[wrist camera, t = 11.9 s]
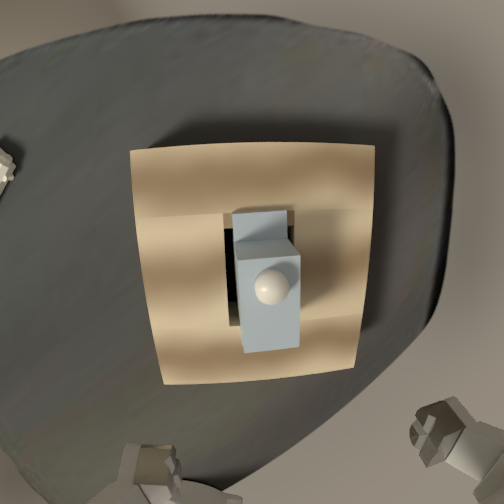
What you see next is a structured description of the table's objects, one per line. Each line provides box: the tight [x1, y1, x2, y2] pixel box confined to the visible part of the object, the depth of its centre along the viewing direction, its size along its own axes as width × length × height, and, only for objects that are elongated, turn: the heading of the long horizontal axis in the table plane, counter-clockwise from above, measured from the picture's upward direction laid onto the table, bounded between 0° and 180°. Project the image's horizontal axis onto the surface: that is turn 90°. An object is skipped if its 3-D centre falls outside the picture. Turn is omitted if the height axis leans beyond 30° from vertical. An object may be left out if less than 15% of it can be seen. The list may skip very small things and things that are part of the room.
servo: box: [231, 209, 300, 353], centre depth 21 cm, size 10×3×9 cm, turn 3°
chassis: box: [130, 142, 375, 384], centre depth 24 cm, size 18×16×4 cm
